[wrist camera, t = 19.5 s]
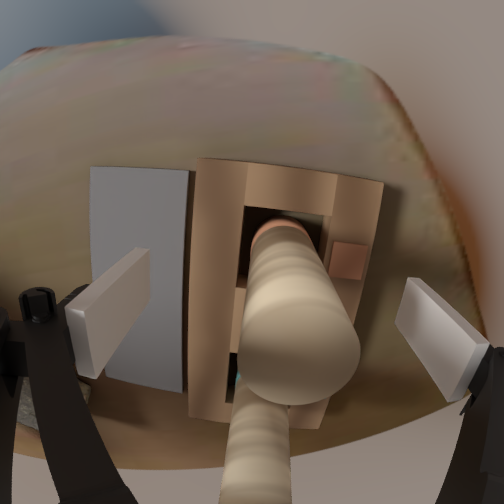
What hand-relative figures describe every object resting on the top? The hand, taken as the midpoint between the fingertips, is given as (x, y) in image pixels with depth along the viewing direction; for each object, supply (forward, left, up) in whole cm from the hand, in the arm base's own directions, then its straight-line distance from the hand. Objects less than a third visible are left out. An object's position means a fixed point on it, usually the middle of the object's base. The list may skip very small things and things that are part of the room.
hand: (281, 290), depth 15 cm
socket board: (0, -5, -8) cm, 10 cm away
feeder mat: (-11, -5, -8) cm, 15 cm away
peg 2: (0, 0, -8) cm, 8 cm away
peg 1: (0, -11, -8) cm, 14 cm away
